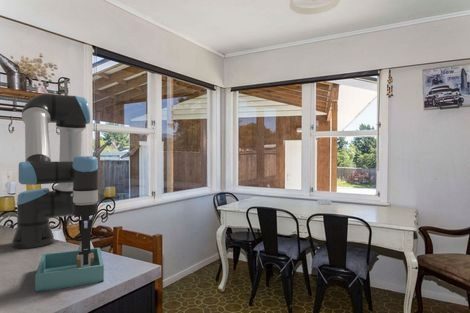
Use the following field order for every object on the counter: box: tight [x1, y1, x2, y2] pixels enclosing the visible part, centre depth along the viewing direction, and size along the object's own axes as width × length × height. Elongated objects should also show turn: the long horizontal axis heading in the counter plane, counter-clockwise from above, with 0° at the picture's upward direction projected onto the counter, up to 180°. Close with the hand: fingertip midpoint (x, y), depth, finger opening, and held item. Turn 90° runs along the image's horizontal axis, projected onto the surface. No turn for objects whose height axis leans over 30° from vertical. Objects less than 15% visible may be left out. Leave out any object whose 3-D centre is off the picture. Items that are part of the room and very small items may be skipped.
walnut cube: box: [77, 253, 94, 268], centre depth 104 cm, size 5×5×5 cm
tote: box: [34, 247, 105, 293], centre depth 103 cm, size 20×18×5 cm
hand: (85, 267), depth 104 cm, fingers open, 13 cm apart
